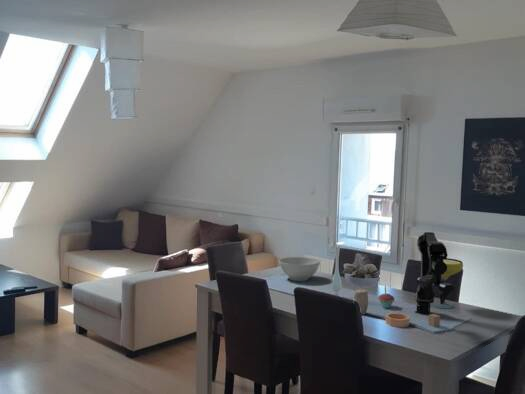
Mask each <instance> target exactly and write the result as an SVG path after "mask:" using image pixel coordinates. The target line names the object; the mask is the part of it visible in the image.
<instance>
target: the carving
mask: <svg viewBox="0 0 525 394" xmlns="http://www.w3.org/2000/svg"><path fill="white" fill-rule="evenodd" d="M354 301H357V302H358V303H359V304H360V308H361V313H362V314H361V315H365V314H366V313H367V310H368V308H369V307H368V306H369V293H368V291H367V290H366V289H360V288H359V289H356V290H355V291H354V295H353V302H354Z"/></svg>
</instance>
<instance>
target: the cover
mask: <svg viewBox="0 0 525 394" xmlns="http://www.w3.org/2000/svg"><path fill="white" fill-rule="evenodd" d="M413 324H414V325H415V326H417V327H420V328H422V329H424V330H427V331H429V332H432V333H438V332H443V331H449V330H454V329H455V327H453V326H451V325H448V324H446V323H442V322H441V316H440V315H439V314H436V313H432V314H428V321H427V320H426V321H422V322H415V323H413ZM415 326H414V327H415ZM417 327H416V328H417ZM420 328H419V329H420ZM422 329H421V330H422ZM424 330H423V331H424ZM427 331H426V332H427ZM454 331H455V330H454ZM429 332H428V333H429ZM449 332H450V331H449ZM432 333H431V334H432ZM443 333H444V332H443ZM438 334H439V333H438Z"/></svg>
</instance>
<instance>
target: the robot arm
mask: <svg viewBox="0 0 525 394" xmlns="http://www.w3.org/2000/svg"><path fill="white" fill-rule="evenodd" d="M416 245H417V246H416V247H417V249H418V251H419V253H420V256H421V259H420V276H419V277H418V278H417V279H416V280H417V282H416V283H417V284H418V286H417V290H416V291H415V295H414V301H415V302H416V310H414V313H415V314H420V315H423V316H425V315H431V314H433V313H432V312H431V303H432V304H434V301H435V296H436V295H435V293H434V289H433V287H437V288H438V293H439V296H440V297H439V300H440V301H439V303H440V304H443V303H444V301H445V302H446V299H447V297H448V296H449V295H450V293H452V291H454V290H455V286H454V284H451V283H448V282H445V283H444V279H443V278H442V274H444V273H445V272H446V271H447V265H446V264H445V263H444V262H443V259H447V258H448V251H447V247H446V245H445V244H444V243H443V242H441V241H439V240H438V239H437V237H436V236H435V233H434V232H430V231H429V232H428V231H426V232H423V234H422V235H420V236H418V238H417V241H416Z"/></svg>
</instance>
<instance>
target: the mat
mask: <svg viewBox="0 0 525 394" xmlns="http://www.w3.org/2000/svg"><path fill="white" fill-rule="evenodd" d="M411 326H412V327H415V328H417V329H420V330H422V331H425V332H427V333H429V334H432V335H436V334H442V333H448V332H452V331H453V332H454V331H458V329H457V328H454V330H449V331H443V332H438V333H432V332H429V331H427V330H424V329H422V328H420V327H417V326H415V325H414V323H413V324H411Z"/></svg>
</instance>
